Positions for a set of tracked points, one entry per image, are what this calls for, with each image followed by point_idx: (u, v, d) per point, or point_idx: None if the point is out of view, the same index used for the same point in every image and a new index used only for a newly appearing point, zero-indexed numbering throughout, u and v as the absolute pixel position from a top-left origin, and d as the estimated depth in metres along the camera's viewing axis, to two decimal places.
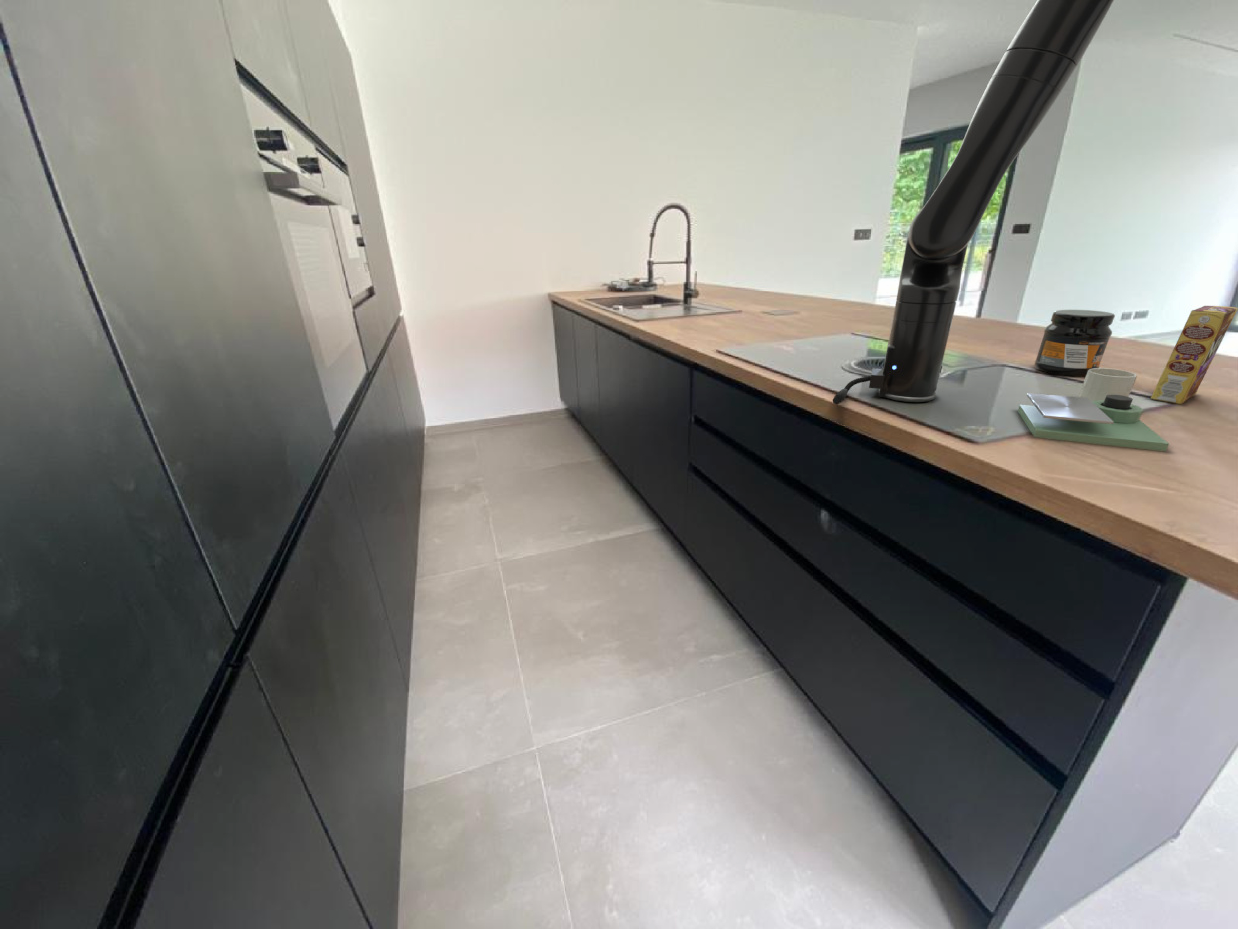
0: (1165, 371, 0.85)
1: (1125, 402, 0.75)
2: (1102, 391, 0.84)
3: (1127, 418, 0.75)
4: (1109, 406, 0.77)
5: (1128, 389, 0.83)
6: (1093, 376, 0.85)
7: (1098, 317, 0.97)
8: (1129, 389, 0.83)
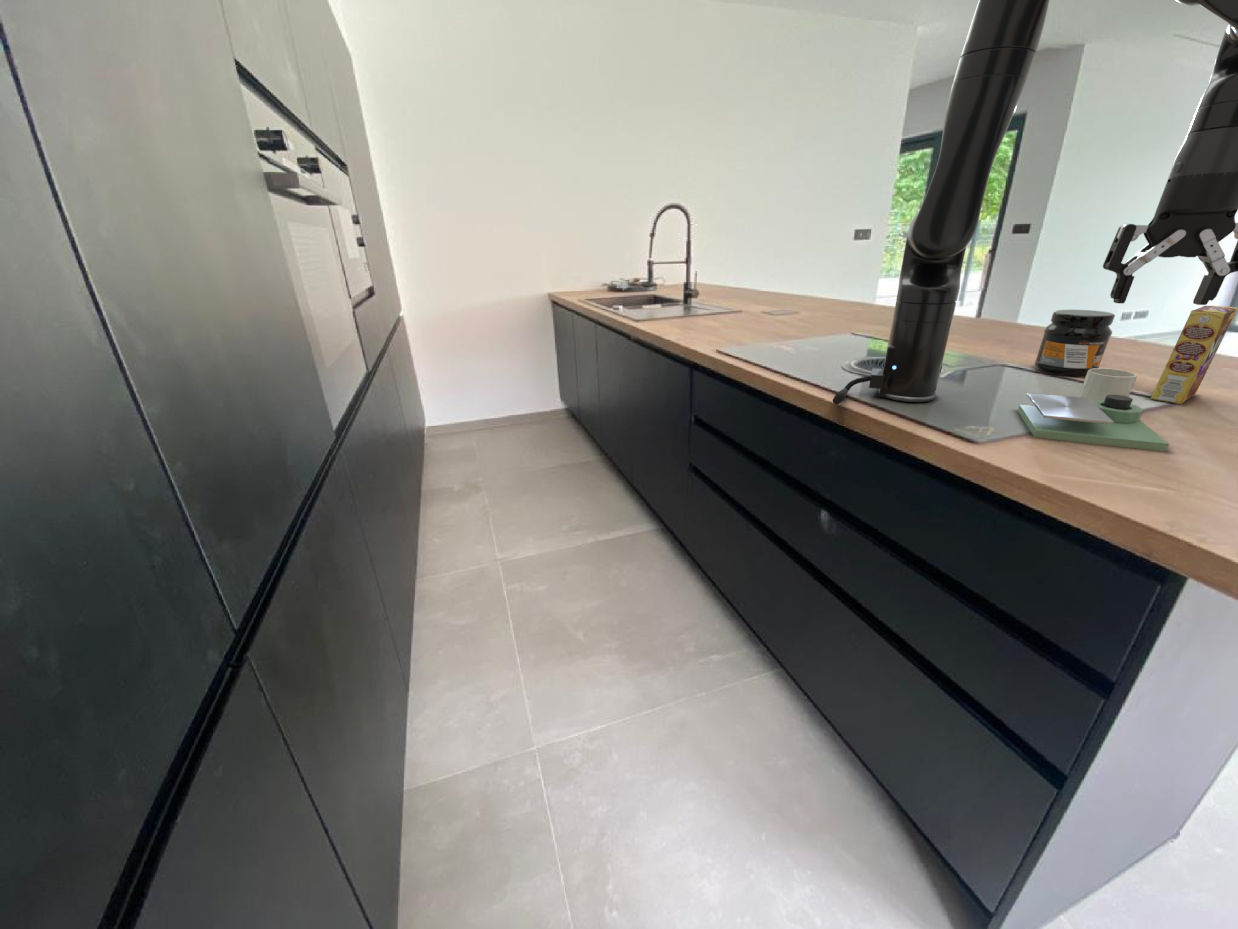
0: (1165, 371, 0.85)
1: (1125, 402, 0.75)
2: (1102, 391, 0.84)
3: (1127, 418, 0.75)
4: (1109, 406, 0.77)
5: (1128, 389, 0.83)
6: (1093, 376, 0.85)
7: (1098, 317, 0.97)
8: (1129, 389, 0.83)
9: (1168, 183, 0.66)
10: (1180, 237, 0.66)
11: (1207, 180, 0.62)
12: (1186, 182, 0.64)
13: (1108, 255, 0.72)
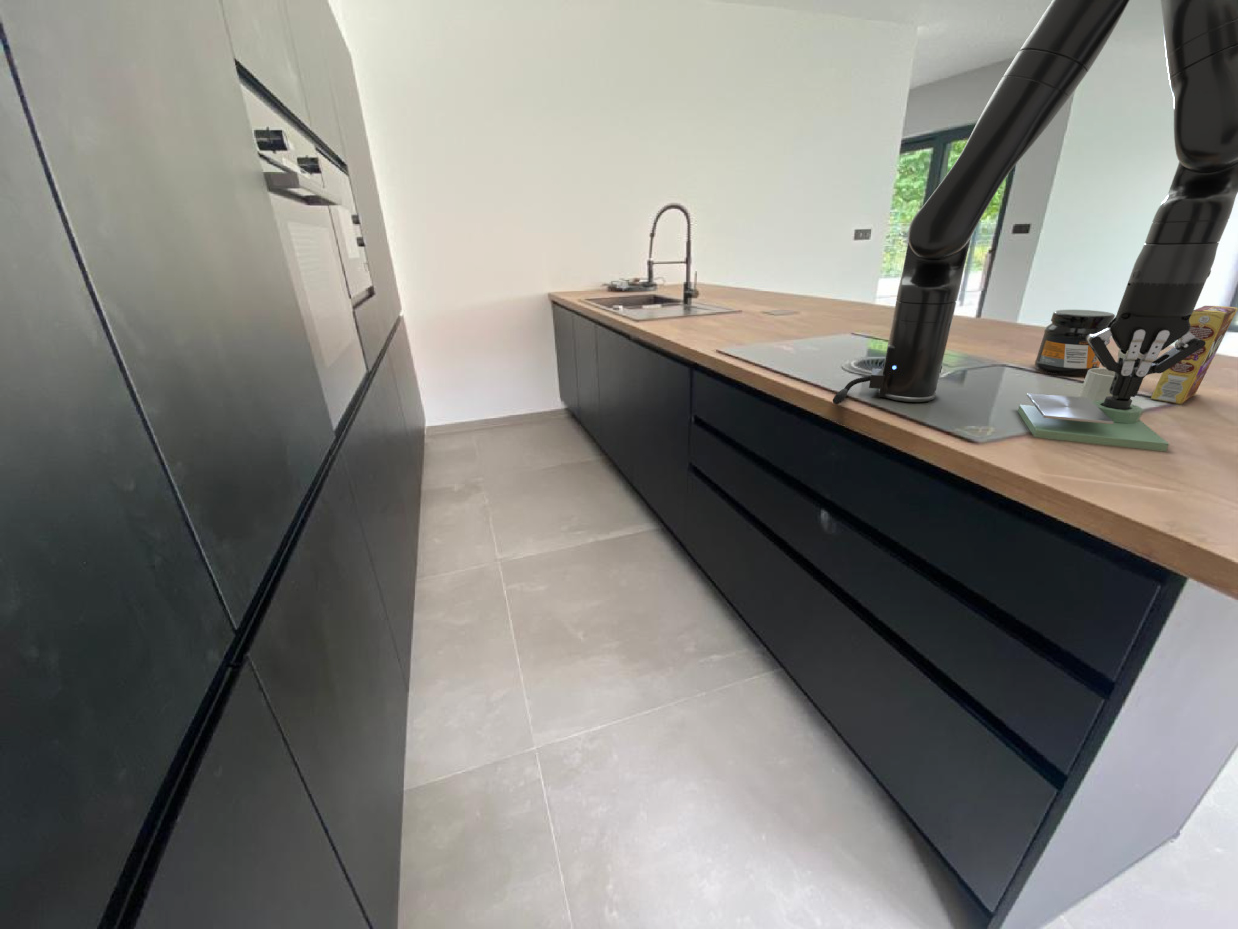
0: (1165, 371, 0.85)
1: (1125, 404, 0.75)
2: (1102, 391, 0.84)
3: (1127, 418, 0.75)
4: (1108, 407, 0.77)
5: None
6: (1093, 376, 0.85)
7: (1098, 317, 0.97)
8: None
9: (1128, 286, 0.71)
10: (1143, 334, 0.71)
11: (1162, 289, 0.68)
12: (1143, 289, 0.69)
13: (1099, 359, 0.76)
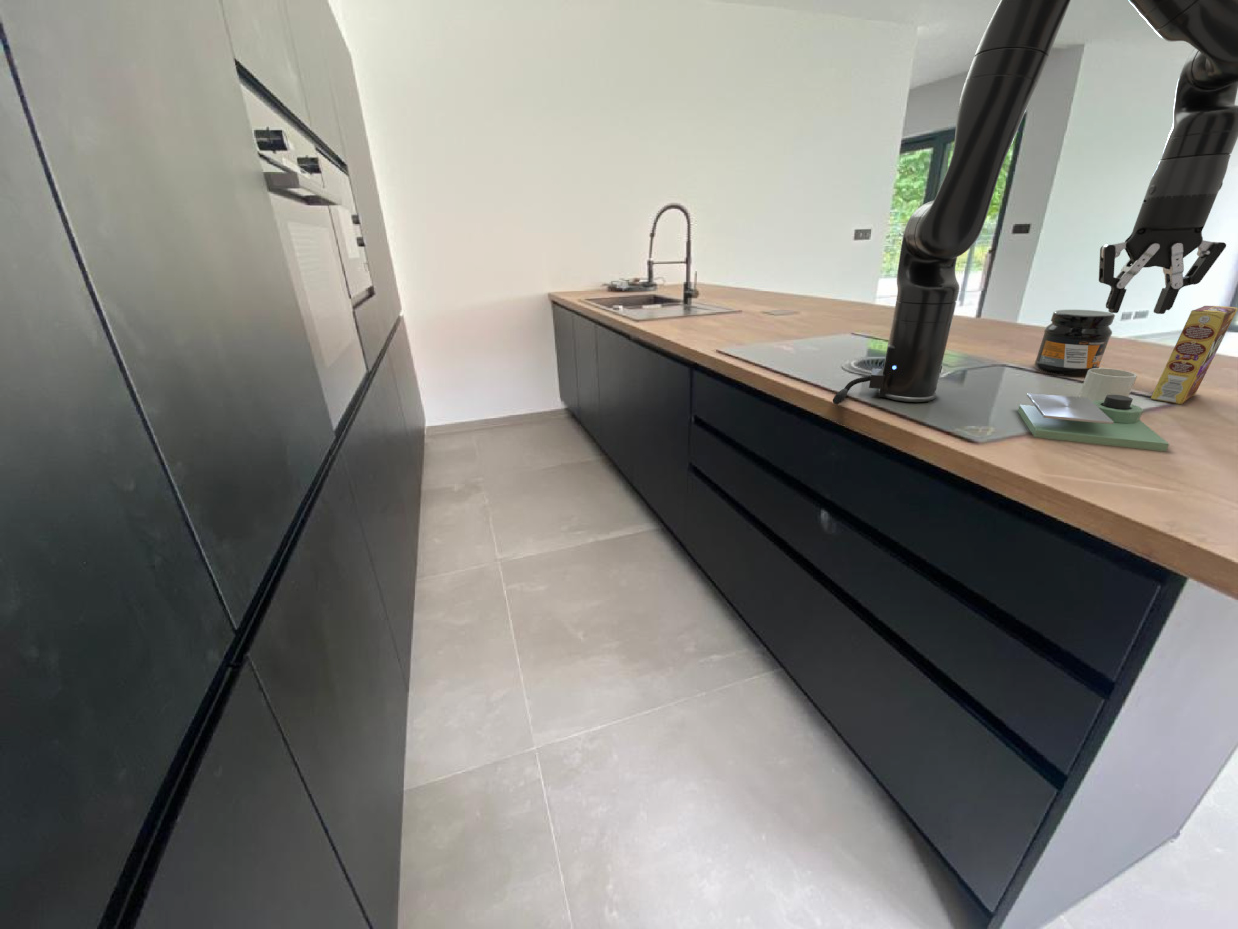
0: (1165, 371, 0.85)
1: (1125, 402, 0.75)
2: (1102, 391, 0.84)
3: (1127, 418, 0.75)
4: (1109, 406, 0.77)
5: (1128, 389, 0.83)
6: (1093, 376, 0.85)
7: (1098, 317, 0.97)
8: (1129, 389, 0.83)
9: (1144, 203, 0.76)
10: (1156, 249, 0.76)
11: (1176, 201, 0.72)
12: (1159, 202, 0.73)
13: (1100, 272, 0.81)
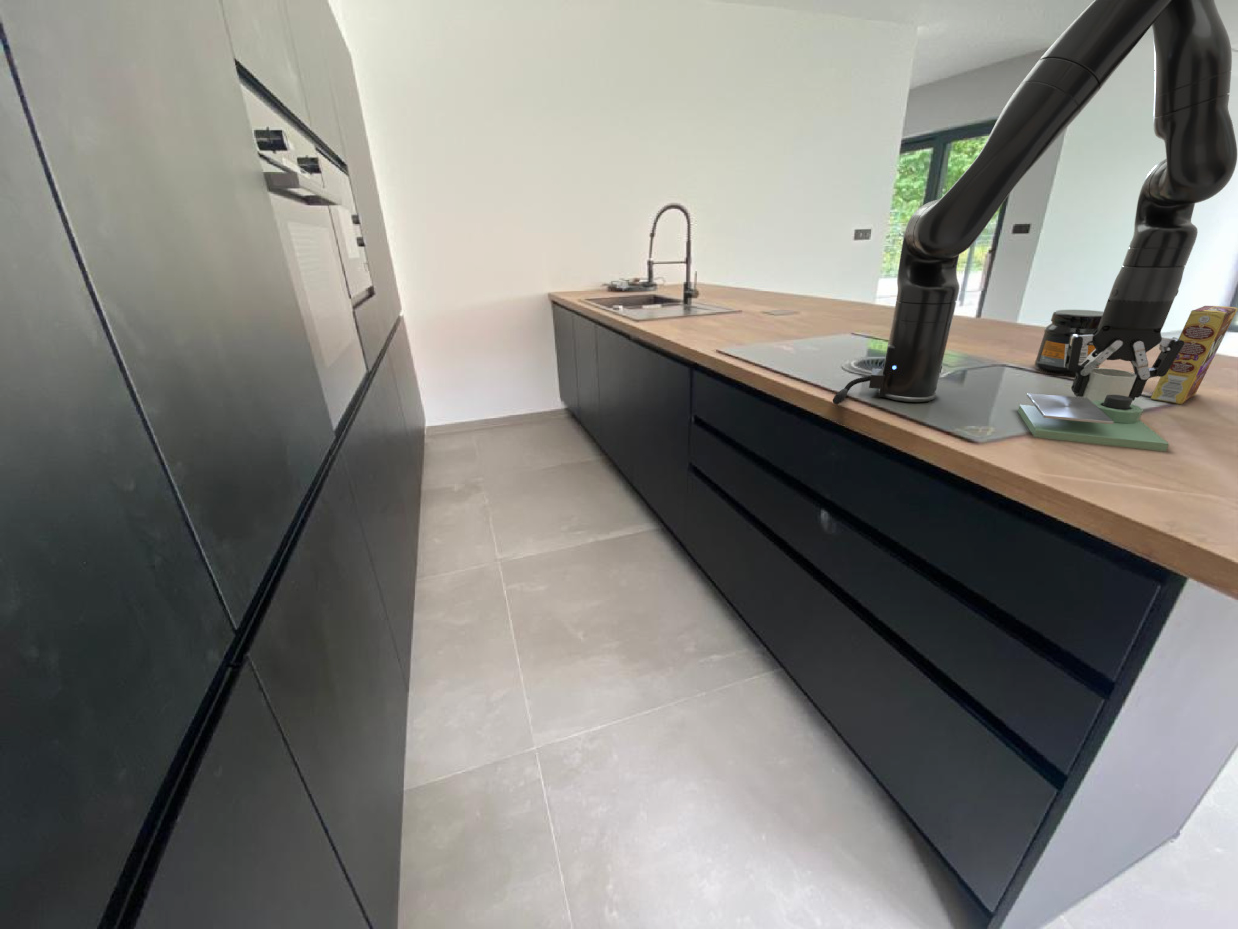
0: None
1: (1125, 402, 0.75)
2: (1102, 391, 0.84)
3: (1127, 418, 0.75)
4: (1109, 406, 0.77)
5: (1128, 389, 0.83)
6: (1093, 376, 0.85)
7: (1098, 317, 0.97)
8: (1129, 389, 0.83)
9: (1108, 302, 0.82)
10: (1119, 346, 0.82)
11: (1136, 306, 0.78)
12: (1121, 305, 0.79)
13: (1067, 358, 0.87)
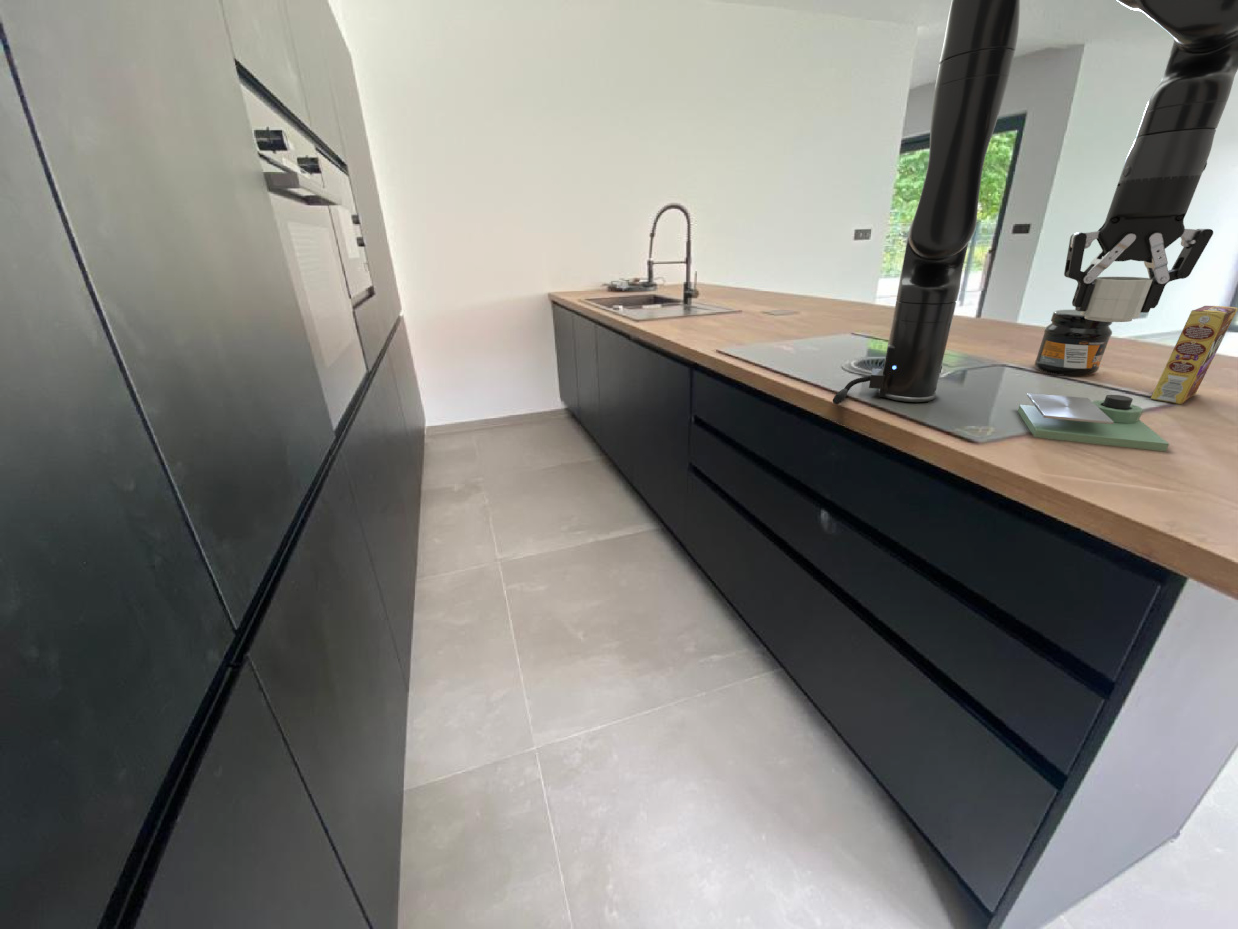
0: (1165, 371, 0.85)
1: (1125, 402, 0.75)
2: (1110, 300, 0.68)
3: (1127, 418, 0.75)
4: (1109, 406, 0.77)
5: (1142, 296, 0.67)
6: (1099, 283, 0.69)
7: None
8: (1143, 296, 0.67)
9: (1118, 187, 0.66)
10: (1131, 241, 0.66)
11: (1154, 184, 0.62)
12: (1134, 186, 0.64)
13: (1066, 264, 0.72)
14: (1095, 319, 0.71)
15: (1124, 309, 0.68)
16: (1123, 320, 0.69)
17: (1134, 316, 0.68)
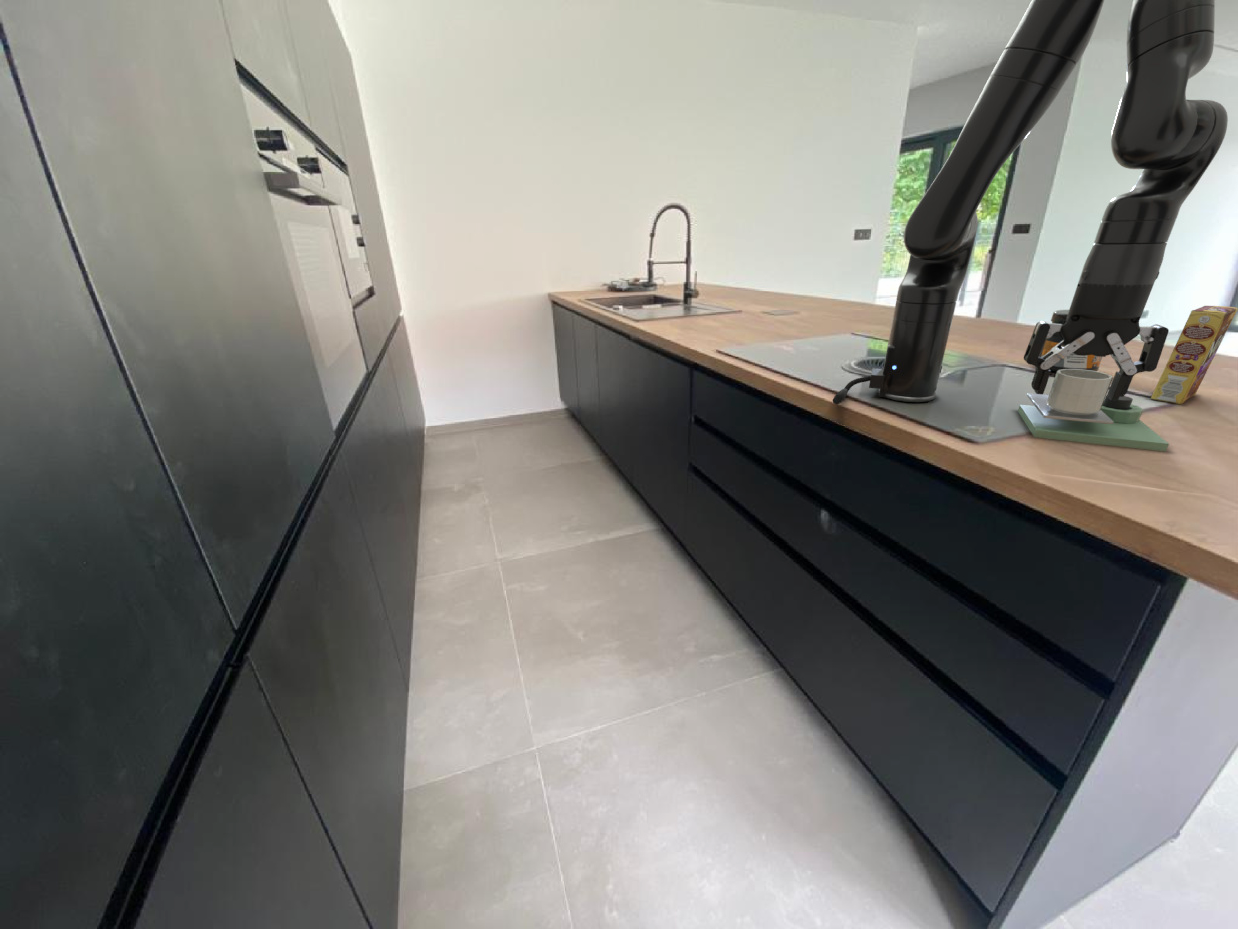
0: (1165, 371, 0.85)
1: (1125, 402, 0.75)
2: (1072, 396, 0.72)
3: (1127, 418, 0.75)
4: (1109, 406, 0.77)
5: (1102, 393, 0.71)
6: (1062, 378, 0.73)
7: None
8: (1103, 393, 0.71)
9: (1077, 288, 0.69)
10: (1089, 339, 0.69)
11: (1109, 291, 0.65)
12: (1091, 290, 0.67)
13: (1027, 348, 0.75)
14: (1059, 411, 0.74)
15: (1085, 404, 0.72)
16: (1085, 414, 0.73)
17: (1095, 411, 0.72)
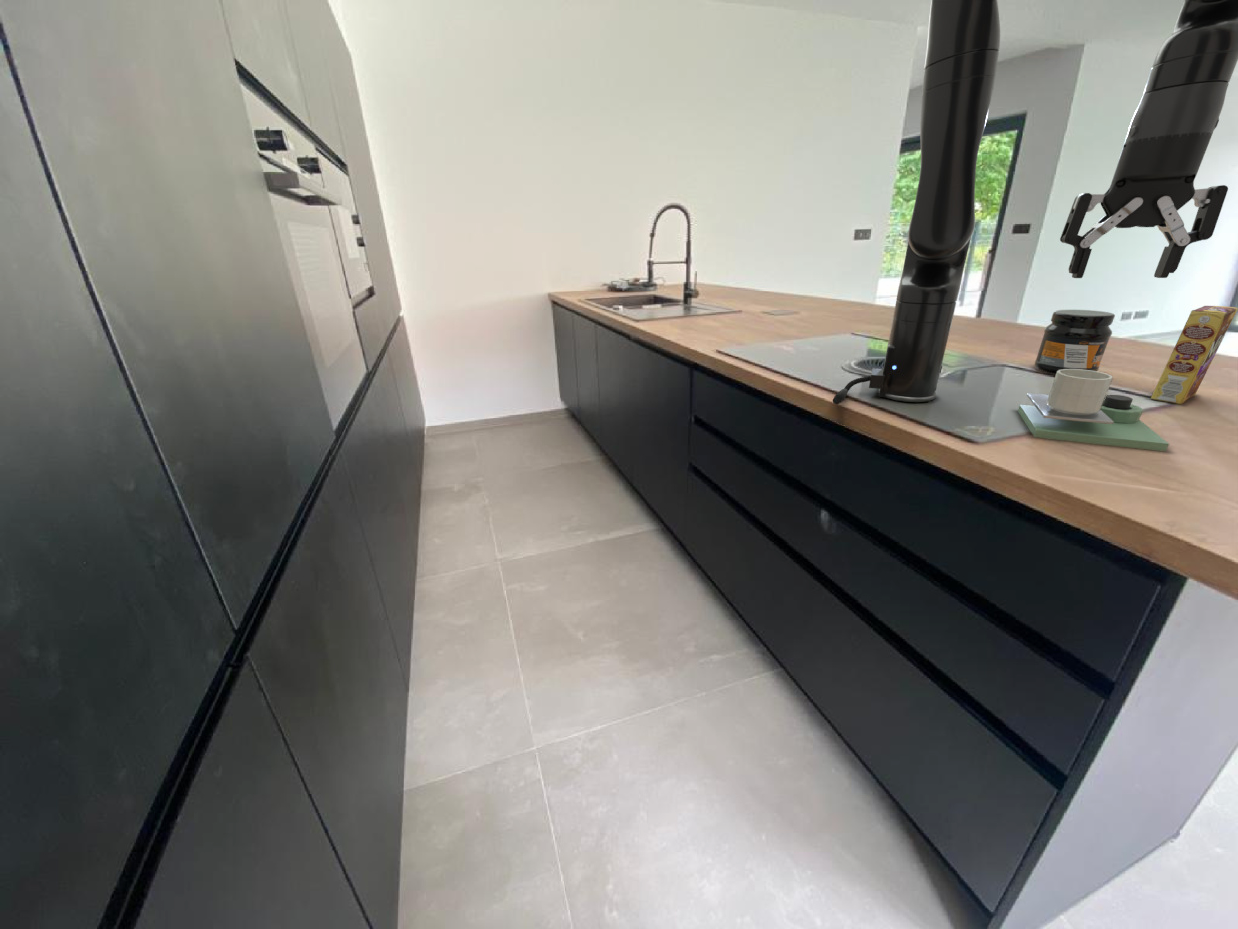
0: (1165, 371, 0.85)
1: (1125, 402, 0.75)
2: (1072, 396, 0.72)
3: (1127, 418, 0.75)
4: (1109, 406, 0.77)
5: (1102, 393, 0.71)
6: (1062, 378, 0.73)
7: (1098, 317, 0.97)
8: (1103, 393, 0.71)
9: (1124, 148, 0.62)
10: (1137, 205, 0.62)
11: (1162, 143, 0.59)
12: (1141, 146, 0.60)
13: (1065, 227, 0.68)
14: (1059, 411, 0.74)
15: (1085, 404, 0.72)
16: (1085, 414, 0.73)
17: (1095, 411, 0.72)
